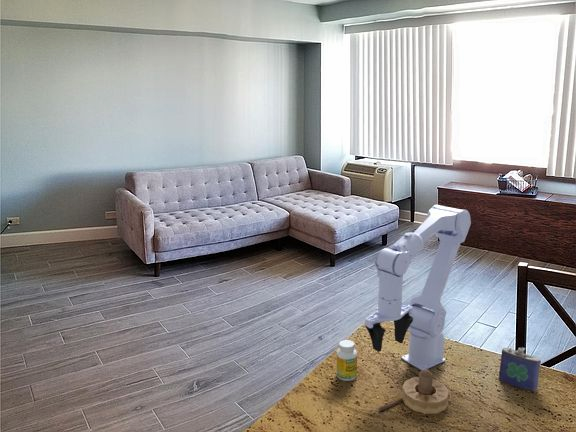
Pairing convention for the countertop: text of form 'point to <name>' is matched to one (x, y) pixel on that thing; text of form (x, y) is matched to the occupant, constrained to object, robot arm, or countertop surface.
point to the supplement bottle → (346, 361)
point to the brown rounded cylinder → (425, 382)
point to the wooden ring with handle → (422, 397)
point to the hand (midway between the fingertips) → (388, 345)
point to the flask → (519, 369)
